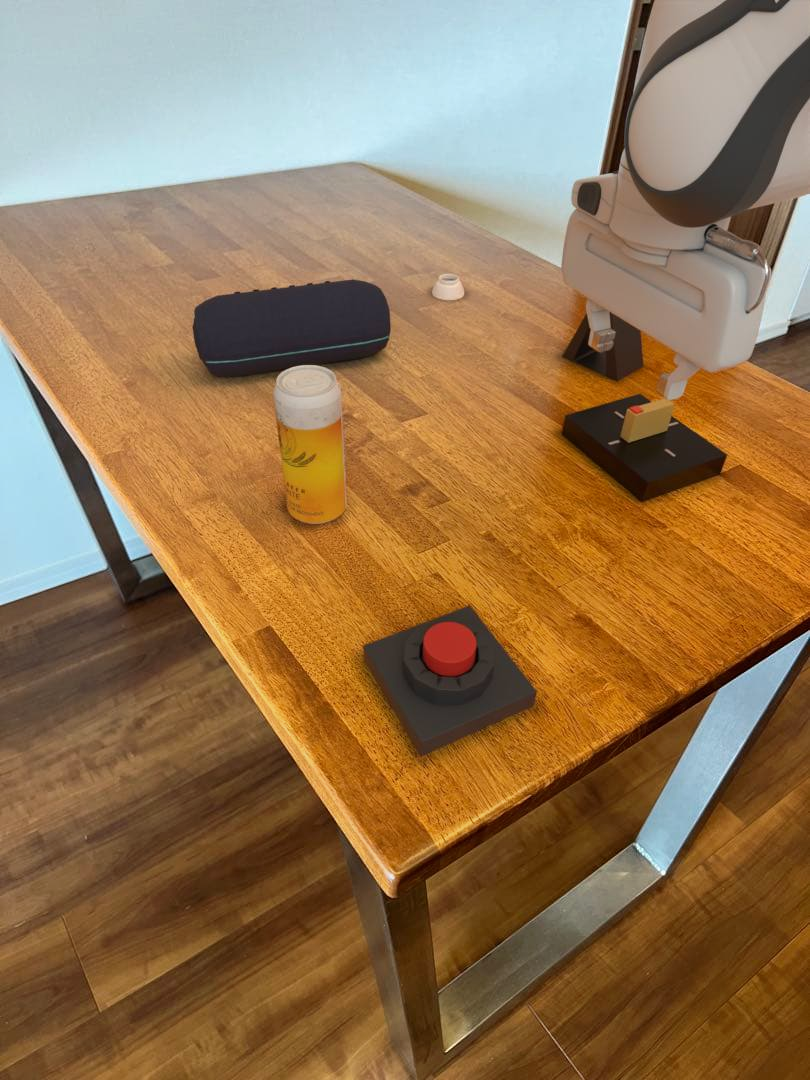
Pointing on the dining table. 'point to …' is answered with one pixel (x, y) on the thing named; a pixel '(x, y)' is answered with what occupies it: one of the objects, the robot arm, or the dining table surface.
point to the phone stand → (616, 360)
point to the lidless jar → (448, 287)
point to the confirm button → (449, 649)
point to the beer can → (311, 442)
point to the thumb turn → (647, 420)
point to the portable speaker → (291, 327)
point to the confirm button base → (447, 684)
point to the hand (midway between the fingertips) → (632, 370)
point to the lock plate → (642, 450)
